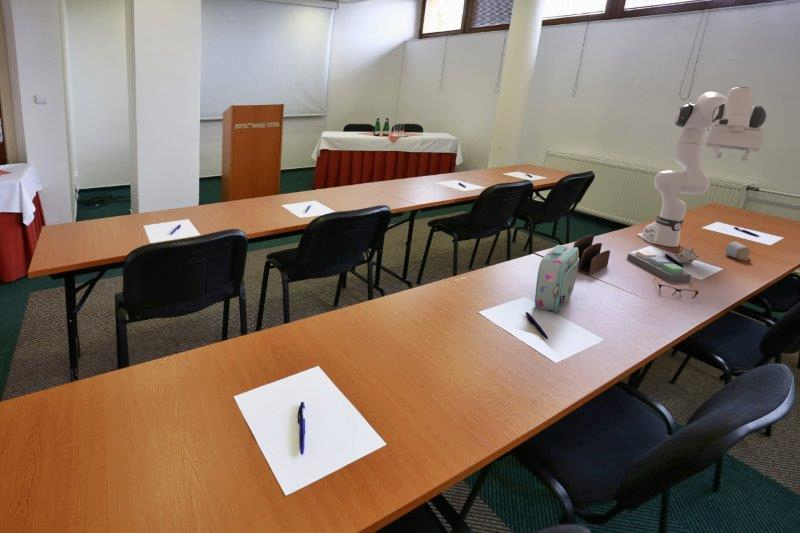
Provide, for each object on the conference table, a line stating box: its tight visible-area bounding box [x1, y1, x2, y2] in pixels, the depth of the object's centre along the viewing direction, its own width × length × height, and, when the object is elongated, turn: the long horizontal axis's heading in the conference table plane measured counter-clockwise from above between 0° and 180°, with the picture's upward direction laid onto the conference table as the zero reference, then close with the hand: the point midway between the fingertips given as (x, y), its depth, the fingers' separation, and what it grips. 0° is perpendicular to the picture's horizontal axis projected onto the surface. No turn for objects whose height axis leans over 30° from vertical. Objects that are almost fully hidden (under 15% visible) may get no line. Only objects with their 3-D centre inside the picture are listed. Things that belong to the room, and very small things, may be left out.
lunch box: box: [534, 244, 579, 314], centre depth 169 cm, size 27×10×21 cm, turn 150°
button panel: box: [626, 252, 692, 283], centre depth 214 cm, size 28×11×3 cm, turn 13°
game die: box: [674, 246, 699, 266], centre depth 224 cm, size 9×8×10 cm
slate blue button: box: [648, 256, 671, 266], centre depth 214 cm, size 6×6×3 cm
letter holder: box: [572, 234, 611, 277], centre depth 209 cm, size 10×20×14 cm, turn 136°
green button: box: [662, 263, 685, 273], centre depth 206 cm, size 6×6×3 cm
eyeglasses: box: [653, 277, 700, 299], centre depth 192 cm, size 14×14×4 cm
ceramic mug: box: [725, 241, 751, 261], centre depth 238 cm, size 11×8×8 cm
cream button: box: [635, 250, 657, 259], centre depth 221 cm, size 6×6×3 cm
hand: (731, 158), depth 186 cm, fingers open, 8 cm apart
